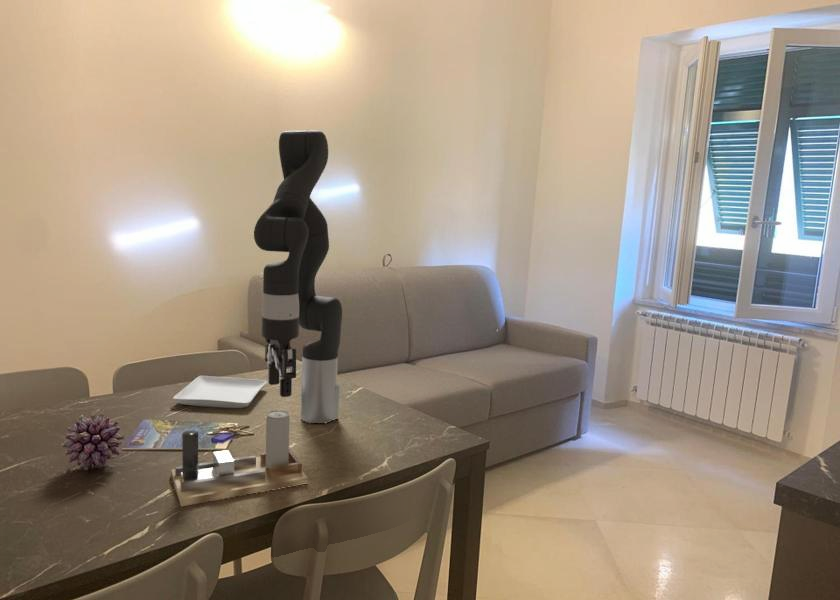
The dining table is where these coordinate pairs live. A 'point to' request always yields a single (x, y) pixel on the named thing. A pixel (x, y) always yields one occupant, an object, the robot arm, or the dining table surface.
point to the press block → (190, 472)
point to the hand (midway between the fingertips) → (279, 390)
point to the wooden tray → (239, 479)
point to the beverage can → (277, 438)
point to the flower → (93, 441)
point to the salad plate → (220, 392)
